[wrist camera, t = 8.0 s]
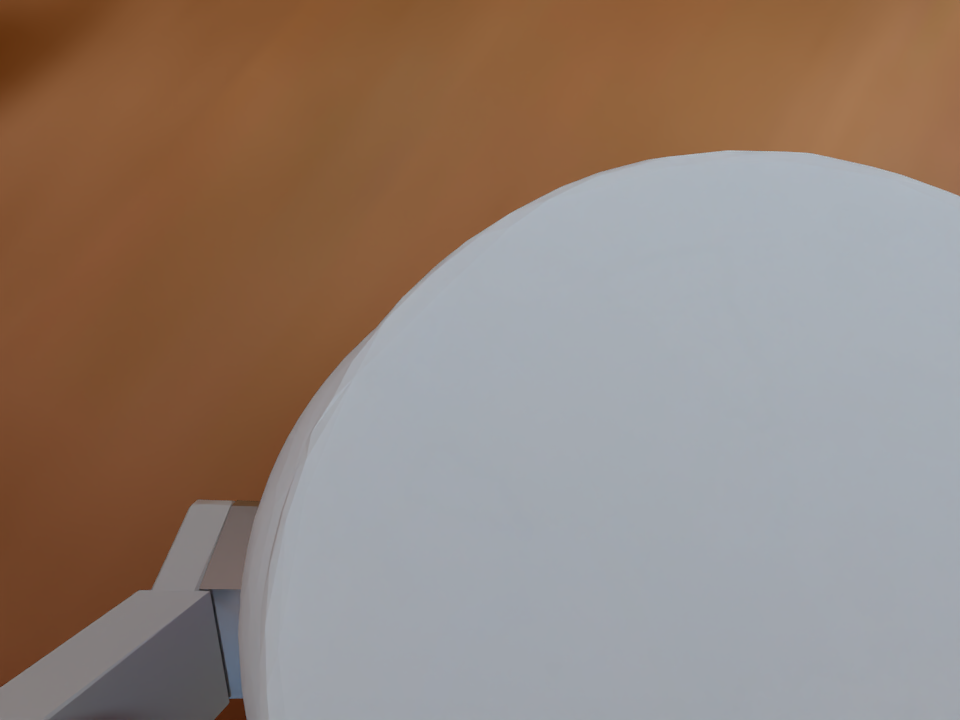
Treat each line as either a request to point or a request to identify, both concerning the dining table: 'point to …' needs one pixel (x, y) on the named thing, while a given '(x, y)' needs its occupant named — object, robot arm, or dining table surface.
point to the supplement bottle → (636, 465)
